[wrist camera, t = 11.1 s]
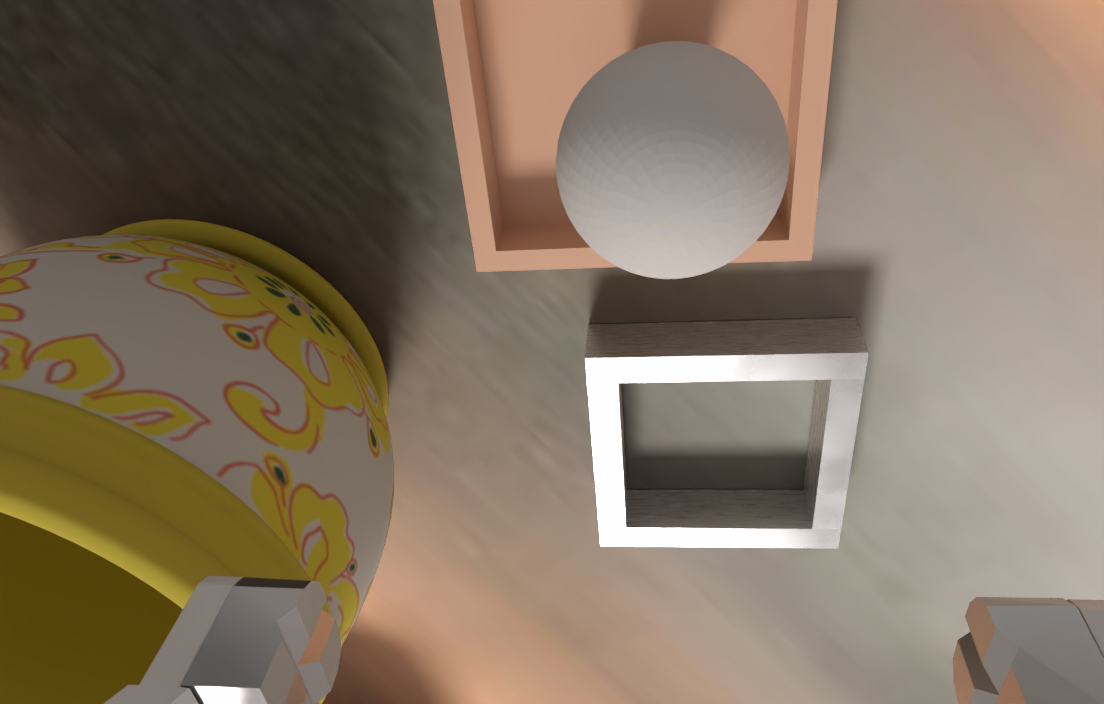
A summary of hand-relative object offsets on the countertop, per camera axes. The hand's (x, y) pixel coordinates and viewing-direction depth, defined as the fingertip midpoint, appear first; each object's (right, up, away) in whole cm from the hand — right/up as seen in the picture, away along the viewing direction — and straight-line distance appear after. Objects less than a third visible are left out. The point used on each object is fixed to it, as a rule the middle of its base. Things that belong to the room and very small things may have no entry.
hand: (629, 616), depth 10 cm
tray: (+2, +13, +17) cm, 21 cm away
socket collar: (+6, 0, +25) cm, 25 cm away
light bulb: (+3, +12, +16) cm, 21 cm away
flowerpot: (-15, +3, +25) cm, 30 cm away
